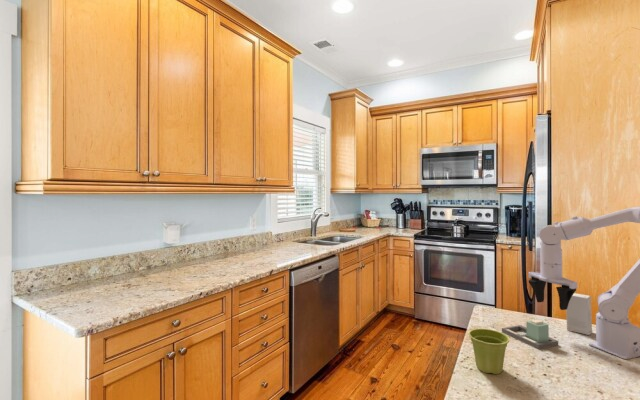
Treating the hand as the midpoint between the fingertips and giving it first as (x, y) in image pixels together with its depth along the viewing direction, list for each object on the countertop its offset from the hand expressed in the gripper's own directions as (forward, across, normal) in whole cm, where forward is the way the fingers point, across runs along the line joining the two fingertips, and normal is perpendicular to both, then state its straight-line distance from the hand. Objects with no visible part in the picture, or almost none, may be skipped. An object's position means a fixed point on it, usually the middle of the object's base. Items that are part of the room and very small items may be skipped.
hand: (551, 305), depth 104 cm
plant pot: (+10, +9, -34) cm, 37 cm away
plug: (+10, +2, -8) cm, 13 cm away
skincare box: (+10, 0, +12) cm, 16 cm away
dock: (+10, -1, -8) cm, 13 cm away
